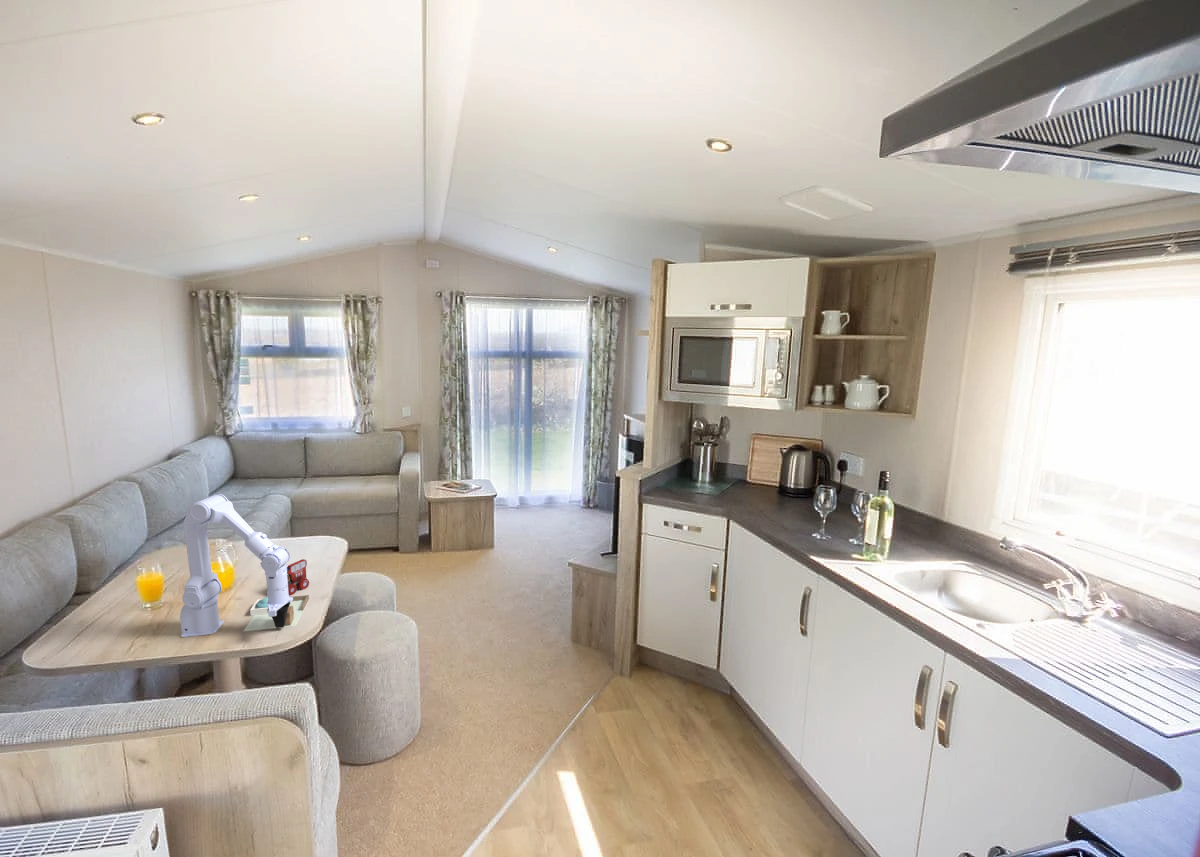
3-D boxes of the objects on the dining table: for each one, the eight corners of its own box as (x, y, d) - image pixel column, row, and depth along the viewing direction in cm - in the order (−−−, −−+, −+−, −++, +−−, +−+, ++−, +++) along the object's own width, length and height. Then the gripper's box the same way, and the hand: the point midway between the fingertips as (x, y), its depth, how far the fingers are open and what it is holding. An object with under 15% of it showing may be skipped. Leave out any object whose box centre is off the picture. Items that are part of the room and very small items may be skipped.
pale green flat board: (240, 633, 175) (239, 625, 174) (260, 603, 194) (259, 596, 193) (295, 627, 179) (295, 619, 178) (310, 599, 198) (309, 592, 197)
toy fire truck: (269, 595, 200) (267, 568, 198) (300, 582, 211) (298, 556, 210) (283, 599, 197) (281, 572, 196) (313, 585, 209) (311, 559, 207)
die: (274, 626, 178) (273, 613, 177) (278, 620, 182) (277, 606, 181) (291, 625, 179) (290, 611, 178) (294, 618, 183) (293, 605, 183)
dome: (255, 612, 185) (254, 602, 185) (260, 604, 191) (259, 594, 190) (274, 610, 187) (273, 600, 186) (278, 602, 192) (278, 593, 192)
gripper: (285, 595, 168) (288, 637, 170) (297, 575, 182) (300, 614, 184) (259, 598, 166) (262, 639, 168) (273, 577, 180) (276, 616, 182)
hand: (280, 626), depth 176 cm, fingers closed
